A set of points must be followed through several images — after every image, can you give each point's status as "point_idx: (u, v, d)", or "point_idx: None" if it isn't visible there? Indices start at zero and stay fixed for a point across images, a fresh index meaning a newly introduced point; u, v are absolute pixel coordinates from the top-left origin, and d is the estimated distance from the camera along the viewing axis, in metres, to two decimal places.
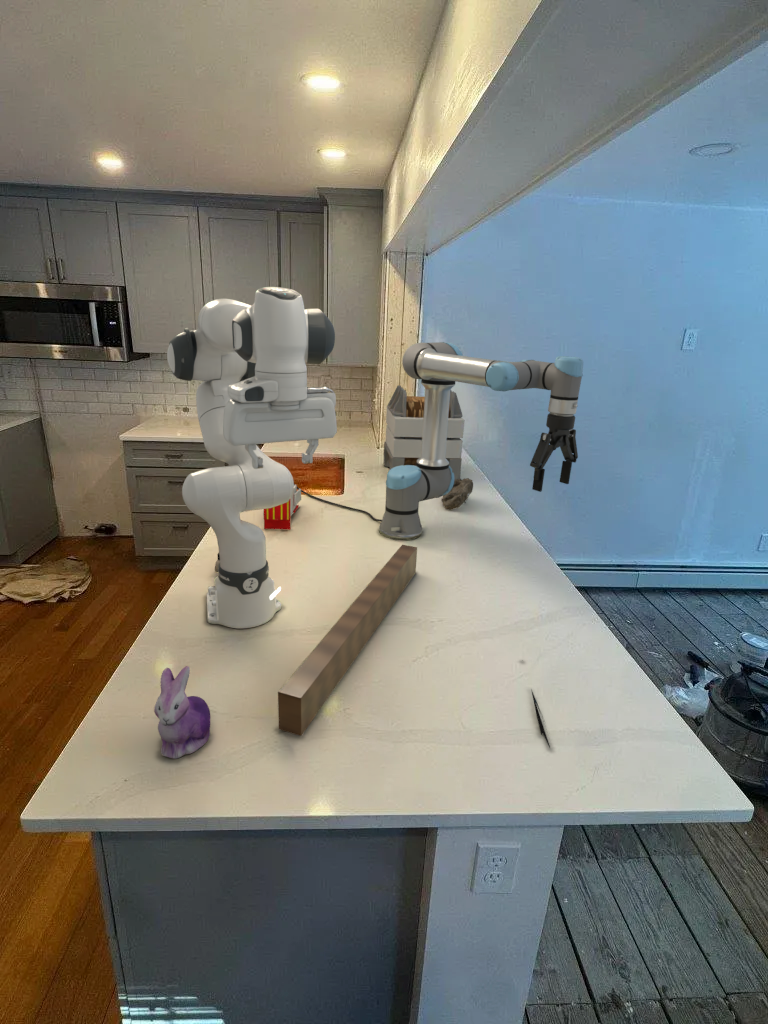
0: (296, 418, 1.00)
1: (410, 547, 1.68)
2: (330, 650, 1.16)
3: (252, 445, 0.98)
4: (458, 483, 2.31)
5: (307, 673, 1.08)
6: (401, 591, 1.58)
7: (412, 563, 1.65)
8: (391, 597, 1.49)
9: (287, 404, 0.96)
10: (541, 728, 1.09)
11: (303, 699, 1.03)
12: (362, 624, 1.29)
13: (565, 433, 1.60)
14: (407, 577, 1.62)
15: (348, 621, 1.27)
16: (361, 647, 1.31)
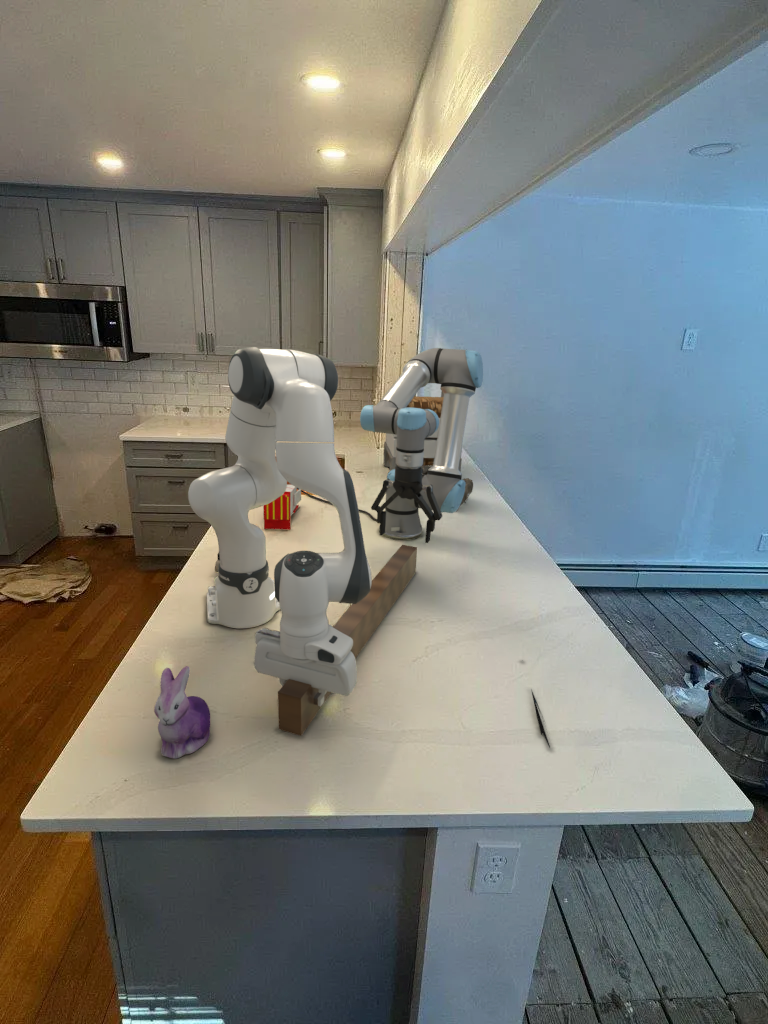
0: None
1: (409, 547, 1.68)
2: None
3: None
4: None
5: None
6: (401, 591, 1.58)
7: (412, 563, 1.65)
8: (391, 597, 1.49)
9: None
10: (541, 728, 1.09)
11: (303, 699, 1.03)
12: (362, 624, 1.29)
13: (412, 486, 1.55)
14: (407, 577, 1.62)
15: (348, 621, 1.27)
16: (361, 647, 1.31)
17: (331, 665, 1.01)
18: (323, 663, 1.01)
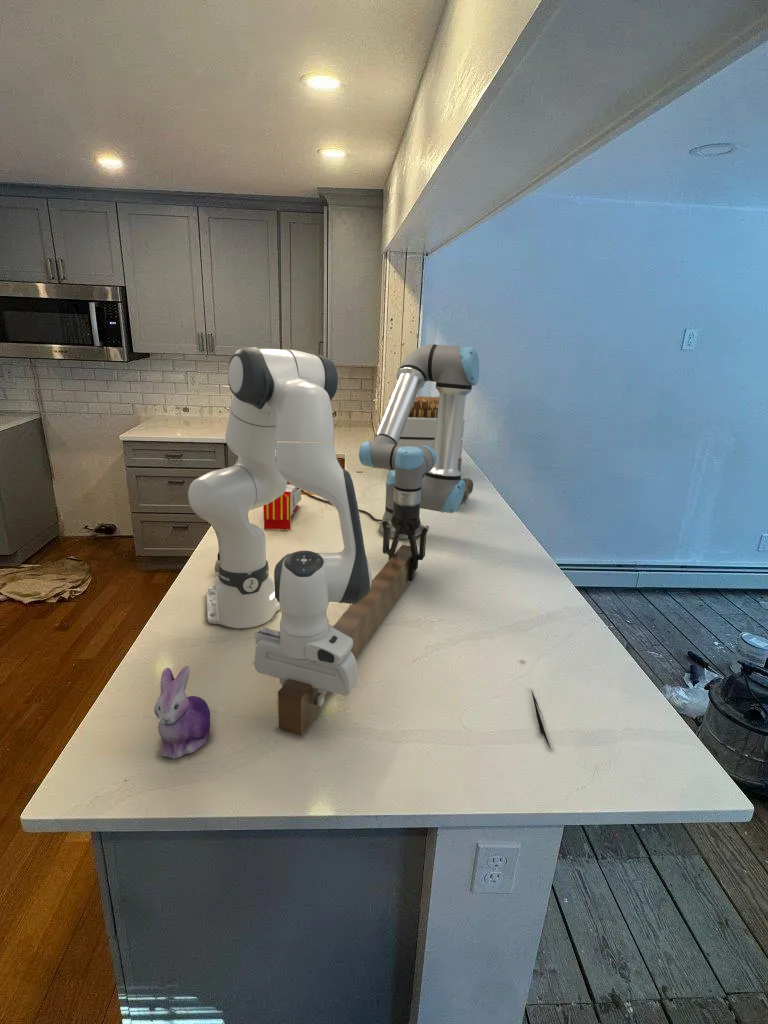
0: None
1: (409, 547, 1.68)
2: None
3: None
4: None
5: None
6: (401, 591, 1.58)
7: None
8: (391, 597, 1.49)
9: None
10: (541, 728, 1.09)
11: (303, 699, 1.03)
12: (362, 624, 1.29)
13: (411, 521, 1.58)
14: (407, 577, 1.62)
15: (348, 621, 1.27)
16: (361, 647, 1.31)
17: (331, 665, 1.01)
18: (323, 663, 1.01)
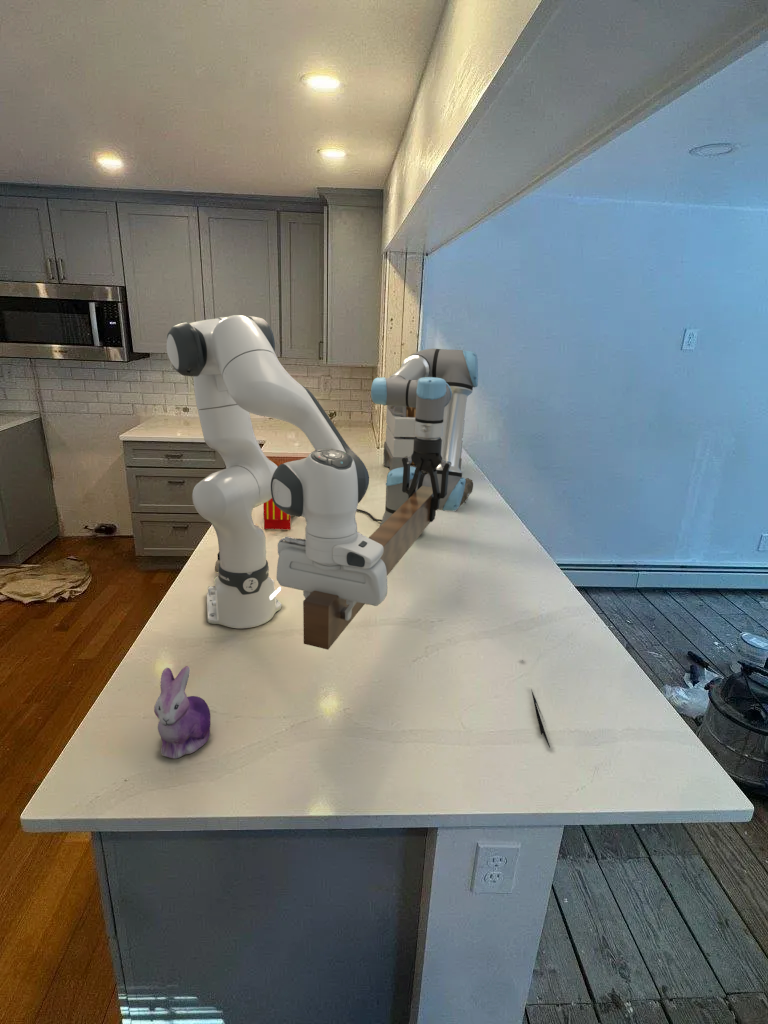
0: None
1: (430, 488, 1.61)
2: None
3: None
4: None
5: None
6: (422, 530, 1.51)
7: None
8: (413, 532, 1.42)
9: None
10: (541, 728, 1.09)
11: (330, 608, 0.96)
12: (387, 549, 1.22)
13: (432, 456, 1.51)
14: (428, 517, 1.55)
15: None
16: None
17: (361, 570, 0.94)
18: (352, 568, 0.94)
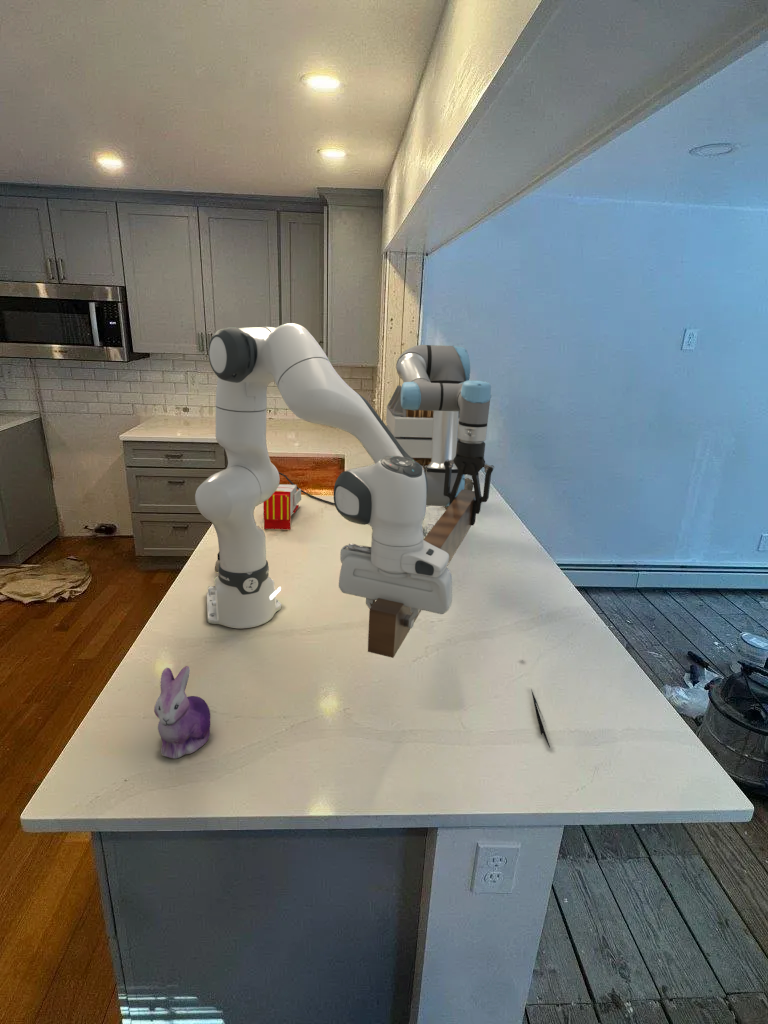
0: None
1: (470, 491, 1.60)
2: None
3: None
4: None
5: None
6: (465, 534, 1.51)
7: None
8: (459, 537, 1.42)
9: None
10: (541, 728, 1.09)
11: (397, 617, 0.95)
12: None
13: (475, 460, 1.51)
14: (470, 521, 1.55)
15: None
16: None
17: (429, 578, 0.93)
18: (420, 577, 0.94)
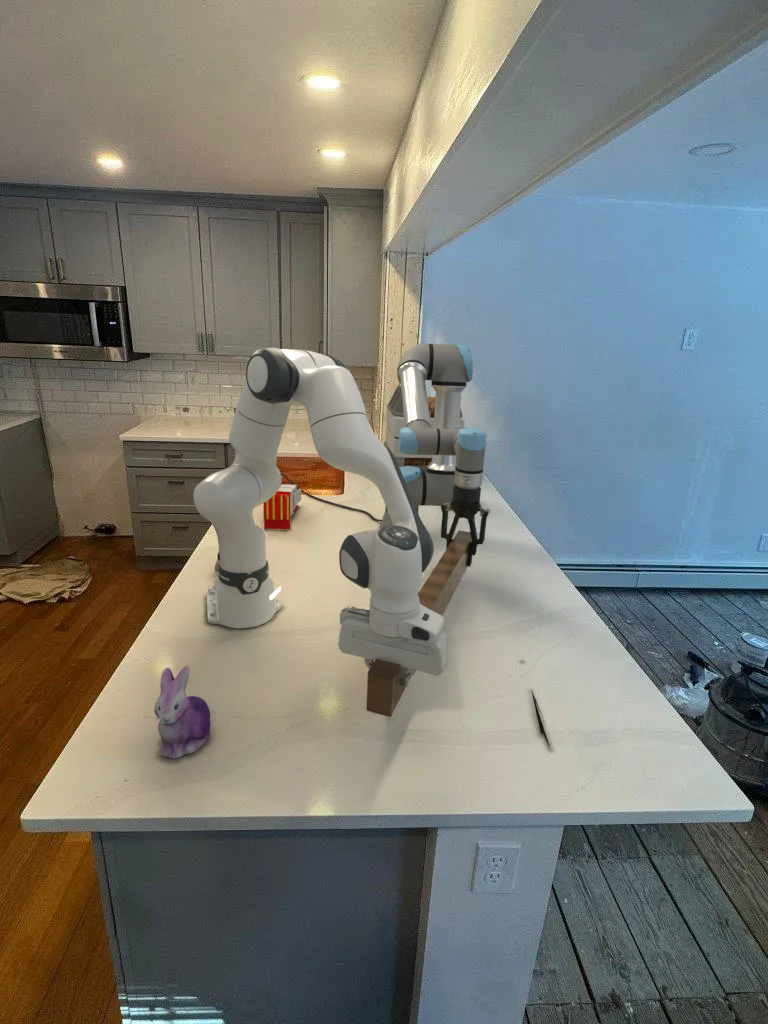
0: None
1: (467, 533, 1.64)
2: None
3: None
4: None
5: None
6: (461, 576, 1.55)
7: None
8: (455, 582, 1.46)
9: None
10: (541, 728, 1.09)
11: (394, 679, 0.99)
12: (436, 607, 1.26)
13: (471, 504, 1.55)
14: (466, 563, 1.59)
15: (422, 603, 1.23)
16: None
17: (425, 643, 0.98)
18: (416, 641, 0.98)
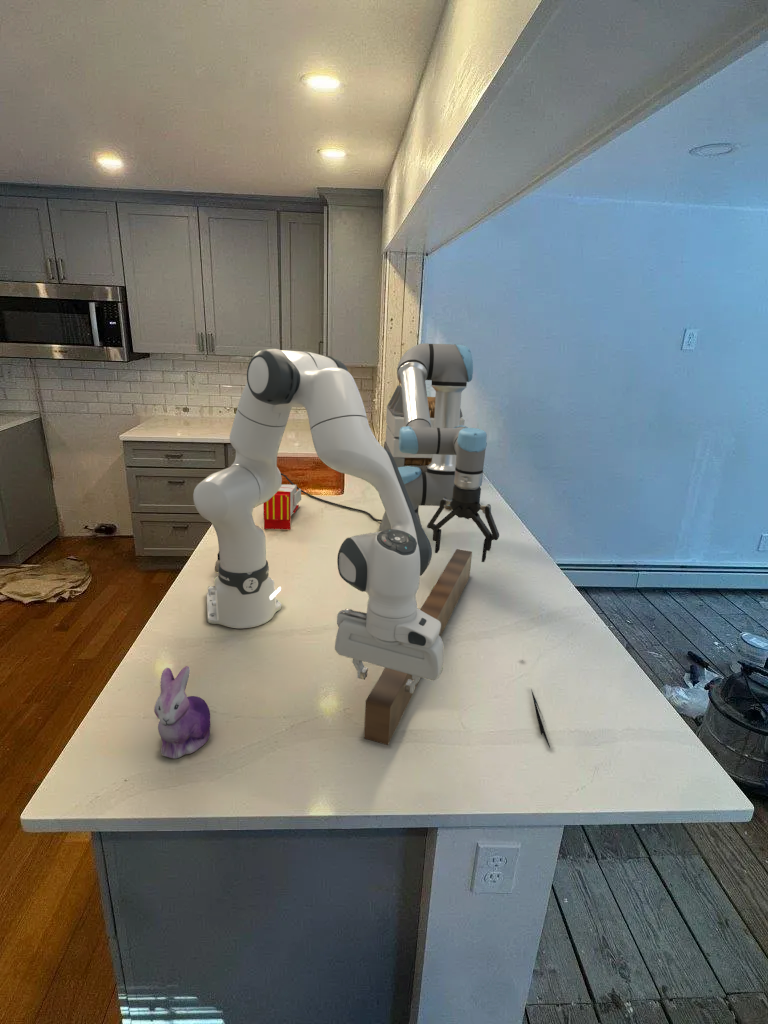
0: None
1: (465, 551, 1.66)
2: None
3: None
4: None
5: (390, 681, 1.07)
6: (459, 596, 1.57)
7: (468, 568, 1.64)
8: (453, 602, 1.48)
9: None
10: (541, 728, 1.09)
11: (391, 708, 1.01)
12: None
13: (470, 506, 1.55)
14: (464, 582, 1.61)
15: None
16: None
17: (421, 648, 0.98)
18: (412, 646, 0.98)
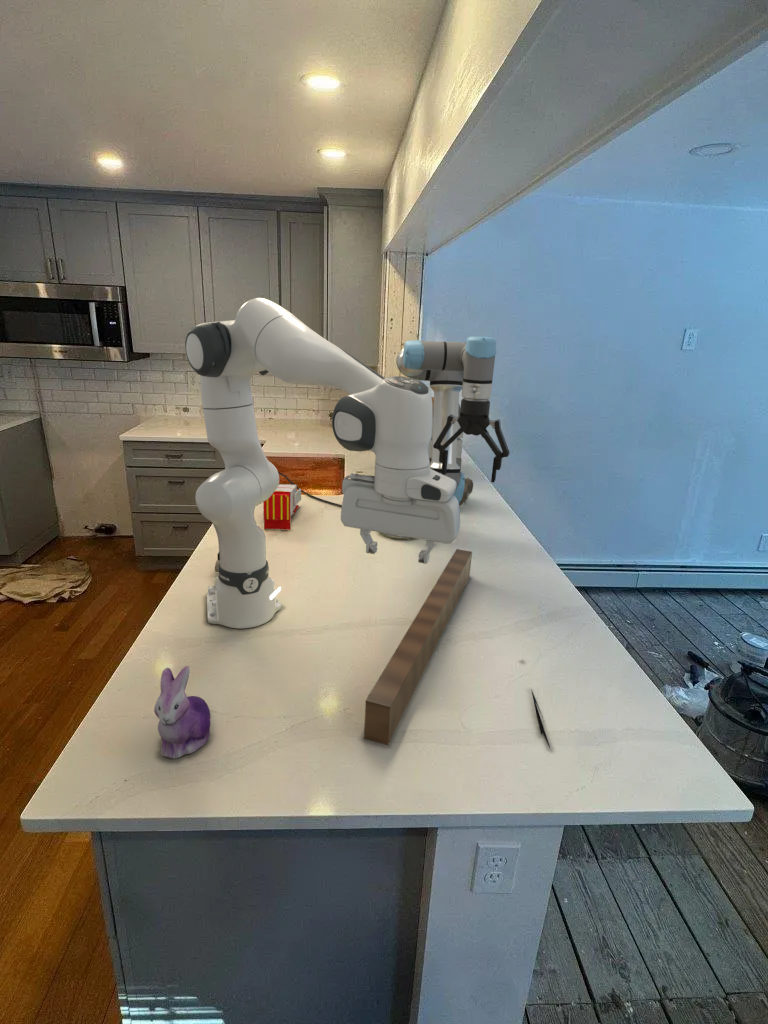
0: None
1: (465, 551, 1.66)
2: (409, 657, 1.15)
3: None
4: None
5: (390, 681, 1.07)
6: (459, 596, 1.57)
7: (468, 568, 1.64)
8: (453, 602, 1.48)
9: None
10: (541, 728, 1.09)
11: (391, 708, 1.01)
12: (433, 630, 1.28)
13: (479, 421, 1.47)
14: (464, 582, 1.61)
15: (420, 628, 1.26)
16: (431, 653, 1.30)
17: (436, 504, 0.89)
18: (426, 503, 0.89)
